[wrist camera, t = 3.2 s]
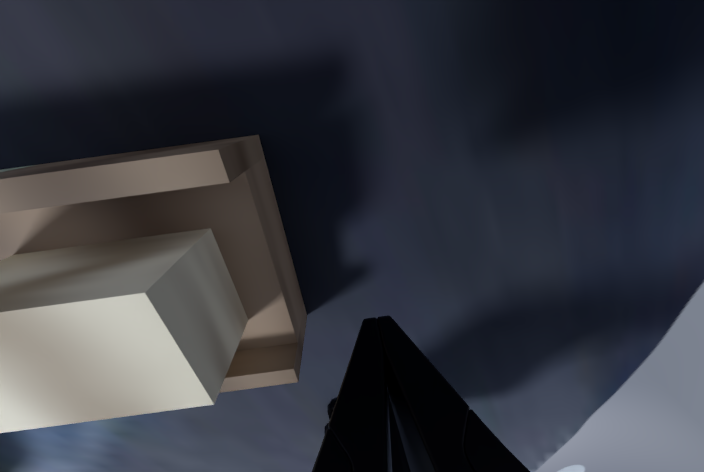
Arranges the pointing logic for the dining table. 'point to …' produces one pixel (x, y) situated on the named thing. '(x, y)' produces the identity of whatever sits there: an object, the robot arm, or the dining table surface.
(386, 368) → the robot arm
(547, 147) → the dining table surface
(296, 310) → the trap lane
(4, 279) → the birch block
